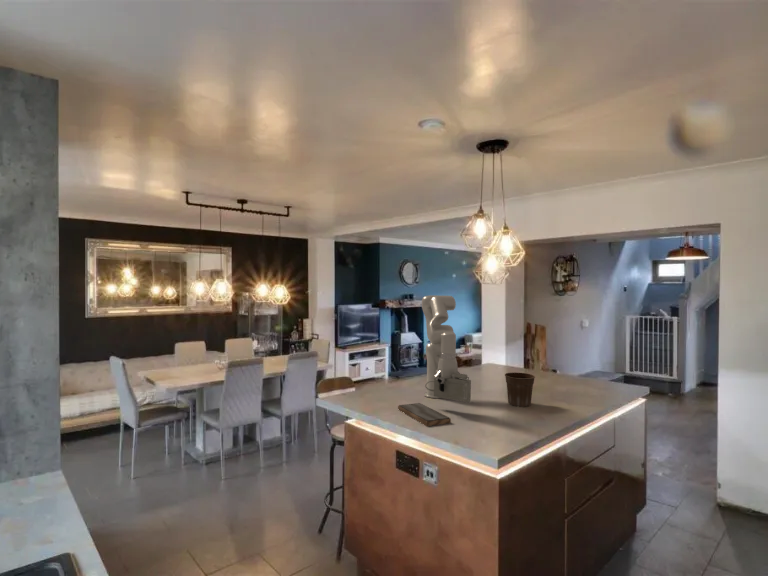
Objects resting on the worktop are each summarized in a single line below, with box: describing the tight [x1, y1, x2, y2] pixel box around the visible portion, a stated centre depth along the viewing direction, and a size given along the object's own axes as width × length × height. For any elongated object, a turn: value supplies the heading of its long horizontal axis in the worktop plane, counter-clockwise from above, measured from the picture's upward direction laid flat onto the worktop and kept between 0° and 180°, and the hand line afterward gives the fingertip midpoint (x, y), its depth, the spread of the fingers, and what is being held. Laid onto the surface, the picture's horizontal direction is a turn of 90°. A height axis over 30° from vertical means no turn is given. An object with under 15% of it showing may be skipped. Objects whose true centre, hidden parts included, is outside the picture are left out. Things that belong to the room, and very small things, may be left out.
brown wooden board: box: [397, 402, 452, 427], centre depth 218 cm, size 13×30×2 cm, turn 24°
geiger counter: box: [424, 370, 472, 403], centre depth 229 cm, size 14×6×25 cm
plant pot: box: [504, 372, 536, 408], centre depth 243 cm, size 16×16×16 cm
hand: (447, 390), depth 229 cm, fingers closed on geiger counter, 6 cm apart
